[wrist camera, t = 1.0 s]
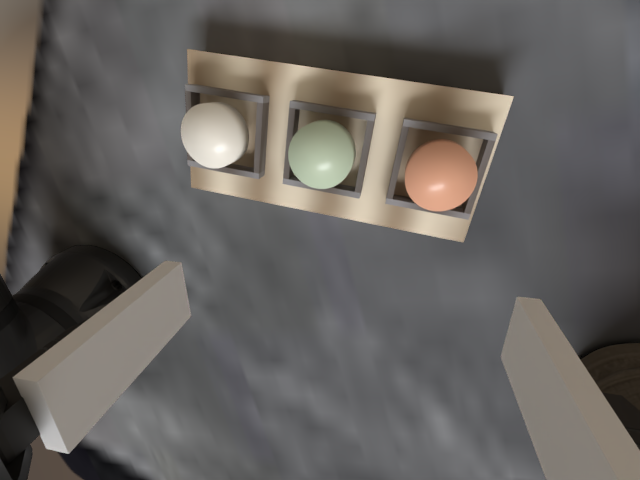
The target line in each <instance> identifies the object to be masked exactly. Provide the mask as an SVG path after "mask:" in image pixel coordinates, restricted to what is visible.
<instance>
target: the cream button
mask: <svg viewBox="0 0 640 480" xmlns="http://www.w3.org/2000/svg"><path fill="white" fill-rule="evenodd" d="M181 137H182V141H183V144H184V146H185V149H186V150H187V152H188V153H189V155H190V156H191V157H192V158H193V159H194V160H195V161H196V162H198V163H199V164H201V165H202V166H205V167H208V168H222V167H225V166H227V165H229V164H231V163H233V162H235V161H237V160H239V159H240V158H241V157H242V156H243V155H244V154H245V152H246V150H247V148H248V145H249V130H248V126H247V123H246V121H245V119H244V118H243V116H242V115H241V114H240V112H239V111H238V110H236V109H235V108H234V107H232V106H231V105H229V104H226V103H223V102H211V103H202V104H198V105H195V106H193V107H192V108H191V109H189V110H188V111H187V113H186V114H185V116H184V118H183V120H182V124H181Z"/></svg>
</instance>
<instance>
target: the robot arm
mask: <svg viewBox="0 0 640 480" xmlns="http://www.w3.org/2000/svg"><path fill="white" fill-rule="evenodd" d="M190 317H191V312H190V307H189V301H188V296H187V290H186V285H185V279H184V274H183V268H182V263H181V262H173V261H164V262H163V263H161V264H160V265H159V266H158V267H156V268H155V269H154V270H152V271H151V272H150V273H148V274H147V275H146V276H144V277H143V278H141V277H140V276H139V275H138V273H137V272H136V271H135V270H134V269H133V268H132V267H131V266H130V265H129V264H127V263H126V262H125V261H124V260H122V259H121V258H119V257H118V256H116V255H114V254H113V253H111V252H109V251H106V250H104V249H101V248H98V247H94V246H88V245H80V246H74V247H71V248H68V249H66V250H64V251H62V252H60V253H58V254H56V255H54V256H53V257H51V258H50V259H49V260H48V261H47V262H46V263H45V264H44V265H43V266H42V268H41V269H40V271H39V272H38V273H37V274H36V275H34V276H33V277H32V278H31V279H30V280H29V281H28V282H27V283H26V284H25V285H24V286H23V287H22V288H21V289H20V290H19V291H18V292H17V293H16V294H14V295H12V294H11V293H10V291H9V289H8V287H7V285H6V284H5V282H4V280H3V278H2V276H1V274H0V480H27V479H28V473H29V468H30V464H31V459H32V447H31V445H30V443H32V442H33V441H34V440H35V439H36V438H37V437H38V436H39V435H40V436H41V438H42V440H43V442H44V445H45V447H46V449H49V450H54V451H58V452H63V453H67V454H69V453H70V452H71V451H72V450H73V449H74V448H75V446H76V445H77V444H78V443H79V442H80V441H81V440H82V439H83V437H84V436H85V435H86V434H87V433H88V432H89V431H90V430H91V428H92V427H93V426H94V425H95V424H96V423H97V422H98V421H99V419H100V418H101V417H102V416H103V415H104V414H105V413H106V412H107V410H108V409H109V408H110V407H111V406H112V405H113V404H114V402H115V401H116V400H117V399H118V398H119V397H120V396H121V395H122V393H123V392H124V391H125V390H126V389H127V388H128V387H129V386H130V384H131V383H132V382H133V381H134V380H135V379H136V378H137V377H138V375H139V374H140V373H141V372H142V371H143V370H144V369H145V368H146V366H147V365H148V364H149V363H150V362H151V361H152V360H153V359H154V357H155V356H156V355H157V354H158V353H159V352H160V351H161V350H162V348H163V347H164V346H165V345H166V344H167V343H168V342H169V341H170V339H171V338H172V337H173V336H174V335H175V334H176V333H177V332H178V330H179V329H180V328H181V327H182V326H183V325H184V324H185V322H186V321H187V320H188V319H189V318H190ZM501 359H502V362H503V365H504V367H505V370H506V373H507V375H508V378H509V381H510V383H511V386H512V389H513V392H514V394H515V397H516V400H517V402H518V405H519V408H520V410H521V413H522V416H523V418H524V421H525V424H526V426H527V429H528V432H529V435H530V437H531V440H532V443H533V445H534V448H535V451H536V453H537V456H538V459H539V461H540V464H541V467H542V470H543V472H544V475H545V478H546V480H640V410H638V409H637V408H636V407H635V406H634V405H633V404H631V403H630V402H629V401H628V400H627V399H625V398H624V397H623V396H622V395H616V394H609V393H602V392H601V391H600V389H599V388H598V386H597V384H596V383H595V381H594V380H593V378H592V377H591V375H590V374H589V372H588V371H587V369H586V368H585V366H584V365H583V363H582V362H581V360H580V359H579V357H578V355H577V354H576V352H575V351H574V349H573V348H572V346H571V345H570V343H569V342H568V340H567V339H566V337H565V336H564V334H563V333H562V331H561V330H560V328H559V326H558V325H557V323H556V322H555V320H554V319H553V317H552V316H551V314H550V313H549V311H548V310H547V308H546V307H545V305H544V304H543V302H542V301H541V299H534V298H525V297H517V298H516V302H515V306H514V310H513V313H512V317H511V321H510V324H509V328H508V332H507V335H506V339H505V343H504V346H503V350H502V354H501Z"/></svg>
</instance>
